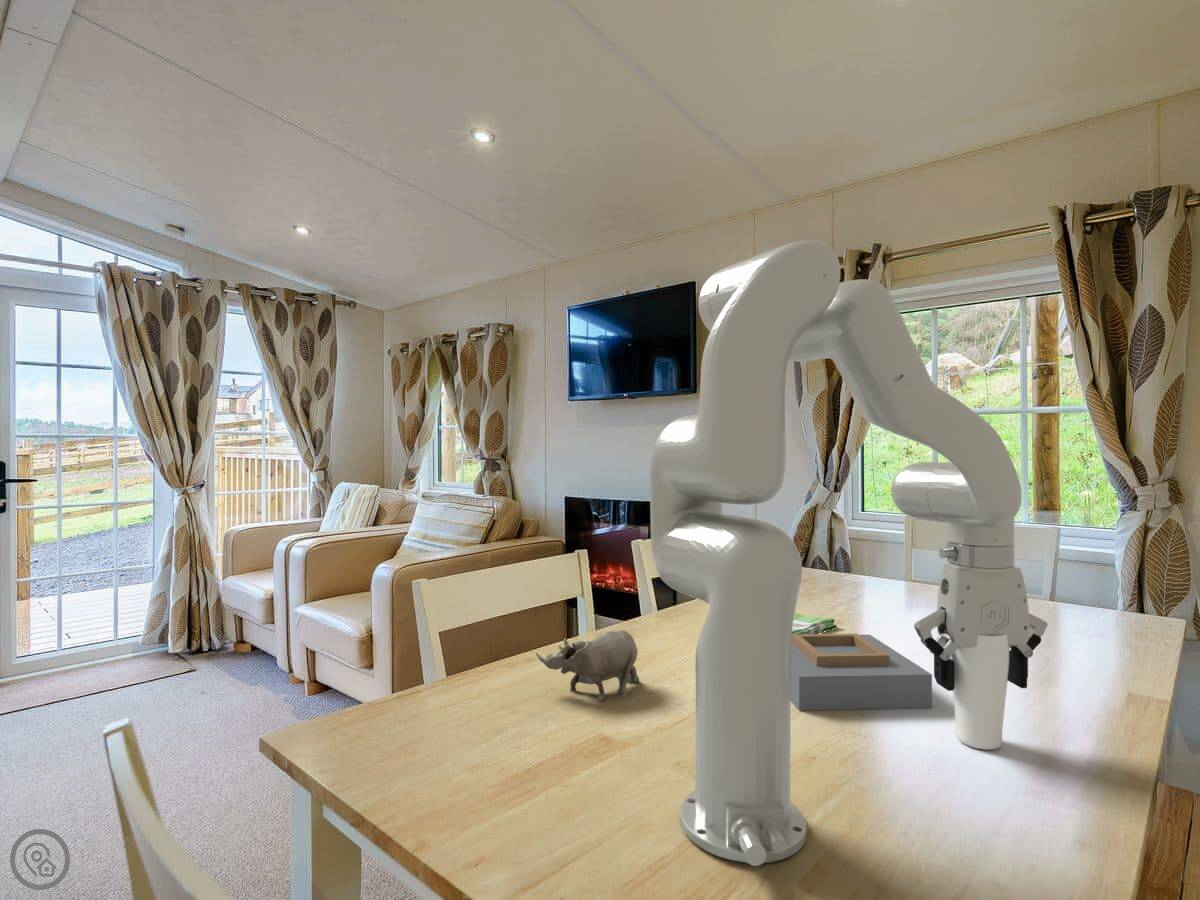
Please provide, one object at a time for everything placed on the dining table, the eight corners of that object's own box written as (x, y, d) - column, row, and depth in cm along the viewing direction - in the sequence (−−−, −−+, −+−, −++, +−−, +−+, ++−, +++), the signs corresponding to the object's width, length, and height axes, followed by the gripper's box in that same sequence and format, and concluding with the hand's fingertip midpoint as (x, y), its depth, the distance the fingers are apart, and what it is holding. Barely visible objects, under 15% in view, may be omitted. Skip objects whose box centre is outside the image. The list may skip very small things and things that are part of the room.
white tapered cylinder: (1017, 757, 82) (1018, 637, 81) (958, 751, 83) (959, 634, 83) (996, 733, 88) (997, 623, 88) (942, 728, 90) (943, 620, 89)
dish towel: (704, 633, 136) (704, 616, 136) (770, 614, 151) (770, 599, 151) (774, 653, 123) (774, 635, 123) (839, 631, 138) (839, 614, 138)
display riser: (931, 708, 97) (932, 664, 96) (799, 710, 96) (799, 666, 95) (869, 662, 116) (869, 626, 116) (759, 664, 116) (759, 627, 115)
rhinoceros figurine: (669, 677, 102) (614, 603, 100) (604, 740, 98) (545, 664, 96) (650, 665, 109) (598, 596, 107) (588, 724, 105) (533, 653, 103)
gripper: (932, 563, 81) (932, 699, 81) (1065, 560, 82) (1065, 694, 82) (901, 552, 89) (902, 677, 89) (1024, 549, 89) (1024, 673, 90)
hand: (980, 685), depth 86 cm, fingers open, 9 cm apart
